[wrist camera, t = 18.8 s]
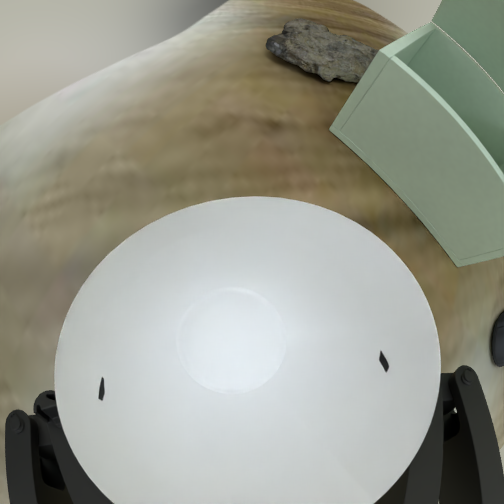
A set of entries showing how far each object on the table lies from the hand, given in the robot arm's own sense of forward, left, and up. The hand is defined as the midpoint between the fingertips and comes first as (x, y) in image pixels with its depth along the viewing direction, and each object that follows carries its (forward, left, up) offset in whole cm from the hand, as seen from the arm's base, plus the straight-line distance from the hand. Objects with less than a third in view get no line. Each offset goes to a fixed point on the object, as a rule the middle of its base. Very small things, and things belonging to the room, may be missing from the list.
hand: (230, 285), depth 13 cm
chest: (+5, +22, -5) cm, 23 cm away
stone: (-9, +23, -5) cm, 25 cm away
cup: (+2, -2, -4) cm, 5 cm away
